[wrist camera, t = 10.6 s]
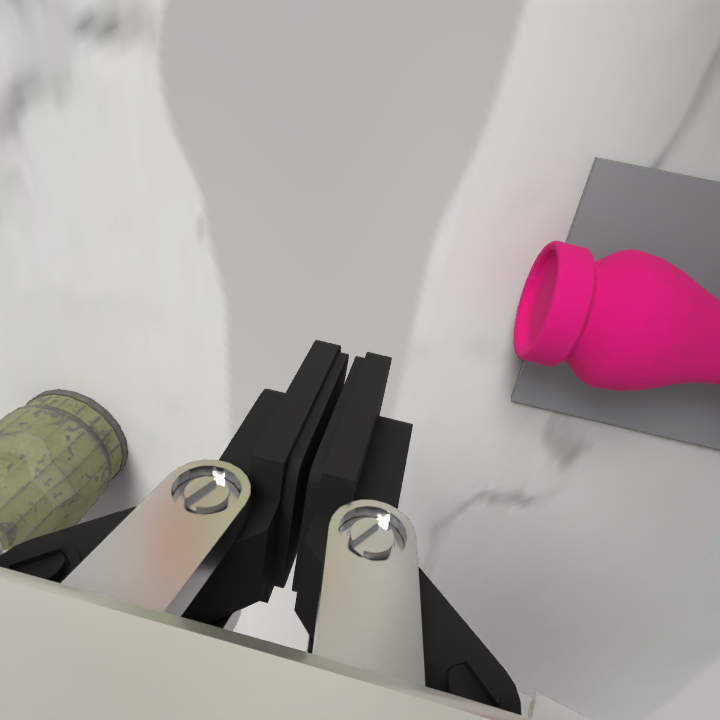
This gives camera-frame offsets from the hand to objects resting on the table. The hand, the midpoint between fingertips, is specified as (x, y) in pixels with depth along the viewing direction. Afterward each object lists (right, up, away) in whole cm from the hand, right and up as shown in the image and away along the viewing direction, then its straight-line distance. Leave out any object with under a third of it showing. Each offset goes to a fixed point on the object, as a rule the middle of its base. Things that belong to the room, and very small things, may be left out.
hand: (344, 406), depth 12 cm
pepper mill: (+9, +4, +17) cm, 20 cm away
